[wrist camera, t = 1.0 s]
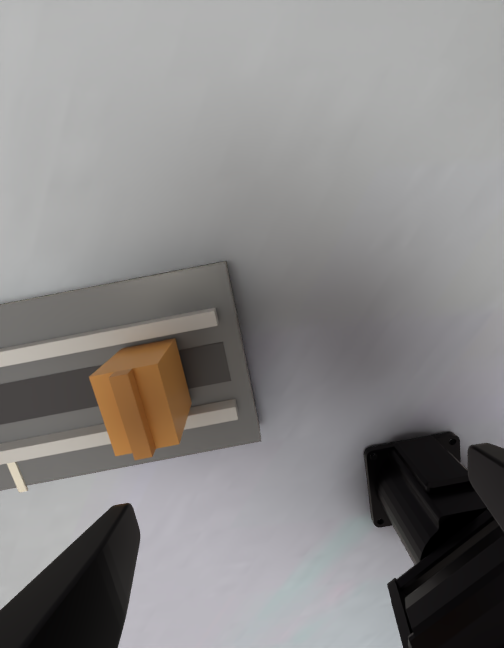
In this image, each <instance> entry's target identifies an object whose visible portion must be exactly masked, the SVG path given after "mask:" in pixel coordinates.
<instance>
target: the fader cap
mask: <svg viewBox="0 0 504 648" xmlns="http://www.w3.org/2000/svg"><path fill="white" fill-rule="evenodd" d="M89 379H90V382H91V385H92V388H93V391H94V394H95V397H96V400H97V403H98V406H99V409H100V412H101V415H102V418H103V421H104V424H105V427H106V430H107V433H108V436H109V439H110V442H111V445H112V448H113V451H114V454H115V456H120V455H125V454H131V453H133V457H134V460H140V459H145V458H150V457H153V455H154V452H155V450H156V449H157V448H162V447H168V446H173V445H178V444H180V441H181V437H182V434H183V431H184V427H185V424H186V421H187V417H188V414H189V411H190V407H191V404H192V402H191V398H190V394H189V390H188V386H187V382H186V378H185V374H184V371H183V367H182V363H181V359H180V355H179V351H178V347H177V343H176V339H175V338H173V339H168V340H163V341H157V342H152V343H147V344H142V345H137V346H131V347H126V348H122V349H121V350H119V351H118V352H117V353H116V354H115V355H114V356H112V357H111V358H110V359H109V360H108V361H107V362H106V363H104V364H103V365H102V366H101V367H100V368H99V369H97V370H96V371H95V372H94V373H93V374H92V375H90V376H89Z"/></svg>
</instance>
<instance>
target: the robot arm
mask: <svg viewBox="0 0 504 648" xmlns="http://www.w3.org/2000/svg"><path fill="white" fill-rule="evenodd" d="M450 439H452V440H451V441H450ZM371 454H374V455H373V456H370V455H371ZM364 458H365V466H366V475H367V483H368V492H369V501H370V509H371V518H372V521H373V523H374V525H375V526H376V527H385V526H390V525H393V527H394V529H395V530H396V532H397V534H398V536H399V538H400V539H401V541H402V543H403V545H404V547H405V549H406V550H407V552H408V554H409V556H410V558H411V559H412V561H413V563H414V566H413V567H412V568H410V569H409V570H408V571H407V572H405V573H404V574H403V575H401V576H400V577H399V578H398V579H396V578H394V579H393V580H392V581H390V582H389V583H388V584H387V585H388V589H389V593H390V597H391V603H392V606H393V610H394V614H395V618H396V622H397V625H398V629H399V633H400V637H401V641H402V645H403V648H504V448H501V447H498V446H495V445H493V444H490V443H481V444H475V445H471V446H469V448H468V470H467V469H466V468H465V467H464V466H463V465H462V464H461V461H460V439H459V437H458V436H456V435H455V434H454V433H452V432H447V433H442V434H436V435H431V436H425V437H420V438H415V439H409V440H404V441H399V442H394V443H389V444H384V445H378V446H373V447H369V448H367V449H366V450H365V452H364ZM379 519H380V520H379ZM139 544H140V529H139V526H138V523H137V519H136V516H135V513H134V509H133V507H132V505H131V504H129V503H125V504H119V505H114V506H112V507H111V508H110V509H109V510H108V511H107V512H105V513H104V514H103V515H102V516H101V517H100V518H99V519H98V520H97V521H96V522H95V523H94V524H93V525H91V526H90V527H89V528H88V529H87V530H86V531H85V532H84V533H83V534H82V535H81V536H80V537H79V538H77V539H76V540H75V541H74V542H73V543H72V544H71V545H70V546H69V547H68V548H67V549H66V550H65V551H63V552H62V553H61V554H60V555H59V556H58V557H57V558H56V559H55V560H54V561H53V562H52V563H51V564H49V565H48V566H47V567H46V568H45V569H44V570H43V571H42V572H41V573H40V574H39V575H38V576H37V577H36V578H34V579H33V580H32V581H31V582H30V583H29V584H28V585H27V586H26V587H25V588H24V589H23V590H22V591H20V592H19V593H18V594H17V595H16V596H15V597H14V598H13V599H12V600H11V601H10V602H9V603H8V604H6V605H5V606H4V607H3V608H2V609H1V610H0V648H118V645H119V641H120V637H121V634H122V630H123V626H124V622H125V618H126V614H127V609H128V604H129V598H130V593H131V587H132V582H133V577H134V571H135V566H136V560H137V555H138V549H139Z"/></svg>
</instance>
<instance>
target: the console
mask: <svg viewBox="0 0 504 648" xmlns="http://www.w3.org/2000/svg"><path fill="white" fill-rule="evenodd" d="M173 338H175V339H176V343H177V347H178V351H179V355H180V359H181V363H182V367H183V371H184V374H185V378H186V382H187V386H188V390H189V394H190V398H191V402H192V404H191V407H190V411H189V414H188V417H187V421H186V424H185V427H184V431H183V434H182V437H181V441H180V444H178V445H173V446H168V447H162V448H157V449H156V450H155V452H154V455H153V457H150V458H145V459H140V460H134V457H133V453H131V454H125V455H120V456H115V454H114V451H113V448H112V445H111V442H110V439H109V436H108V433H107V430H106V427H105V424H104V421H103V418H102V415H101V412H100V409H99V406H98V403H97V400H96V397H95V394H94V391H93V388H92V385H91V382H90V379H89V376H90V375H92V374H93V373H94V372H95V371H96V370H97V369H99V368H100V367H101V366H102V365H103V364H104V363H106V362H107V361H108V360H109V359H110V358H111V357H112V356H114V355H115V354H116V353H117V352H118V351H119V350H121V349H122V348H126V347H131V346H137V345H142V344H147V343H152V342H157V341H163V340H168V339H173ZM259 441H261V435H260V426H259V420H258V415H257V410H256V405H255V400H254V395H253V390H252V386H251V381H250V376H249V371H248V366H247V361H246V356H245V351H244V346H243V341H242V336H241V331H240V326H239V321H238V316H237V311H236V306H235V302H234V297H233V292H232V287H231V282H230V277H229V272H228V267H227V262H226V261H223V262H218V263H213V264H207V265H202V266H197V267H192V268H187V269H181V270H176V271H171V272H166V273H161V274H155V275H150V276H145V277H140V278H135V279H129V280H124V281H119V282H114V283H109V284H103V285H98V286H93V287H88V288H83V289H77V290H72V291H67V292H62V293H57V294H51V295H46V296H41V297H36V298H30V299H25V300H20V301H15V302H10V303H4V304H0V491H1V490H6V489H11V488H16V487H17V489H18V491H19V492H25V491H28V488H27V485H32V484H38V483H43V482H48V481H53V480H59V479H64V478H69V477H74V476H80V475H85V474H90V473H96V472H101V471H106V470H111V469H117V468H122V467H127V466H132V465H138V464H143V463H148V462H154V461H159V460H164V459H169V458H175V457H180V456H185V455H190V454H196V453H201V452H206V451H212V450H217V449H222V448H227V447H233V446H238V445H243V444H248V443H254V442H259Z"/></svg>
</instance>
